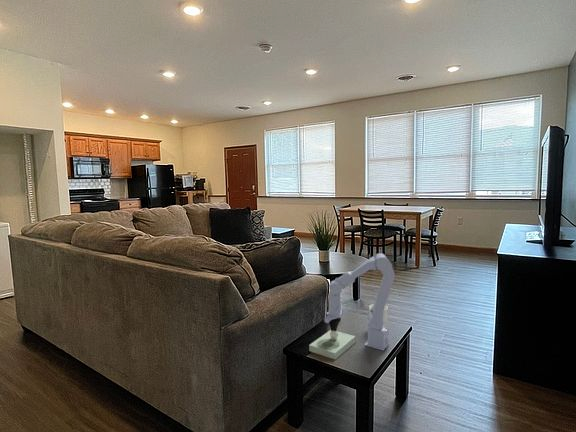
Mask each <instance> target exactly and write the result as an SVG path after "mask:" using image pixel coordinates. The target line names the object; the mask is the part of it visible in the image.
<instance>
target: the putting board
mask: <svg viewBox="0 0 576 432" xmlns="http://www.w3.org/2000/svg"><path fill="white" fill-rule="evenodd" d="M336 331H337V330H336ZM330 332H331V329H330V330H328V331H327V332H325V333H324V334H323V335H321V336H320V337H318V338H317V339H315V340H313V342H311V343H310V344H309V345H308V347H309V348H308V349H309V350H308V351H309V352H311V353H313V354H317V355H321V356H323V357H326V358H329V359H331V360H337V359H338V358H339V357H340V356H341V355H342V354H344V353H345V352H346V351H347V350H348V349H350V348H351V347H352V346H353V345H355V343H356V342H357V338H356V337H357V336H356V335H352V334H348V333H344V332H341V331H337V332H338V337H337V338H336V339H332V338H331V337H330Z"/></svg>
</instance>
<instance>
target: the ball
mask: <svg viewBox="0 0 576 432" xmlns="http://www.w3.org/2000/svg"><path fill="white" fill-rule="evenodd" d="M338 332H339V331H338ZM338 332H337V330H336V331H331V332H330V337H331V338H332V339H336V338H337V337H338Z"/></svg>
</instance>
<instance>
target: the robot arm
mask: <svg viewBox="0 0 576 432" xmlns="http://www.w3.org/2000/svg"><path fill="white" fill-rule="evenodd" d="M377 269H378V270H379V271H380V272H381V274H382V278H381V282H380V285H379V288H378V291H377V293H376V298H375V300H374V303H373V304H374V306H373V307H372V309H371V311H369V312H368V313H367V320H368V324H367V341H366V342H365V343H364V346H366V347H368V348H369V347H370V348H373V349H375V350H376V349H377V350H379V351H384V350H385V349H386V348H388V346H389V345H390V340H389V339H390V337H389V335H390V333H389V329H388V328H387V329H385V328H384V327H383V316H384V308H385V305H386V306H387V302H388V298H389V295H390V293H391V288H392V286H393V282H394V280H395V278H396V277H395V276H396V275H395V270H394V268H393V264H392V263H391V261H390V260H389V258H388V257H387V256H386V254H384V253H381V252H379V253H376V254H375V255H374V256H373V255H372V256H371V257H370V258H369V259H367V260H366V261H364V262H363V263H362V264H360V265H359V266H358V267H357V268H355V269H354V270H353V271H344V272H343V273H342V275H341V276H339V277H337V278H335V279H334V280H331V281H330V282H329V285H328V290H329V293H328V295H329V296H328V310H327V312H326V317H325V318H324V323H326V324H328V325H329V328H330V330H331V331H337V330H338V325H339V324H340V322H341V320H342V319H341V316H343V314H344V310H342V309H341V301H342V300H341V299H342V297H341V293H342V292H343V290H345V289H346V288H348V287H349V286H350V285H352V284H353V283H355V282H356V279H357V278H358V277H360V276H361V275H363V274H364V273H366V272H367V271H369V270H371V271H377Z"/></svg>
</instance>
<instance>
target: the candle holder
mask: <svg viewBox="0 0 576 432" xmlns="http://www.w3.org/2000/svg"><path fill="white" fill-rule="evenodd" d="M373 306H374V303H372V304H369V305H368V311H369V312H370V311H371V309H372V307H373ZM388 311H389V306H388V305H387V304H386V305H385V308H384V316H383V327H384V328H385V329H387V330H388Z"/></svg>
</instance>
